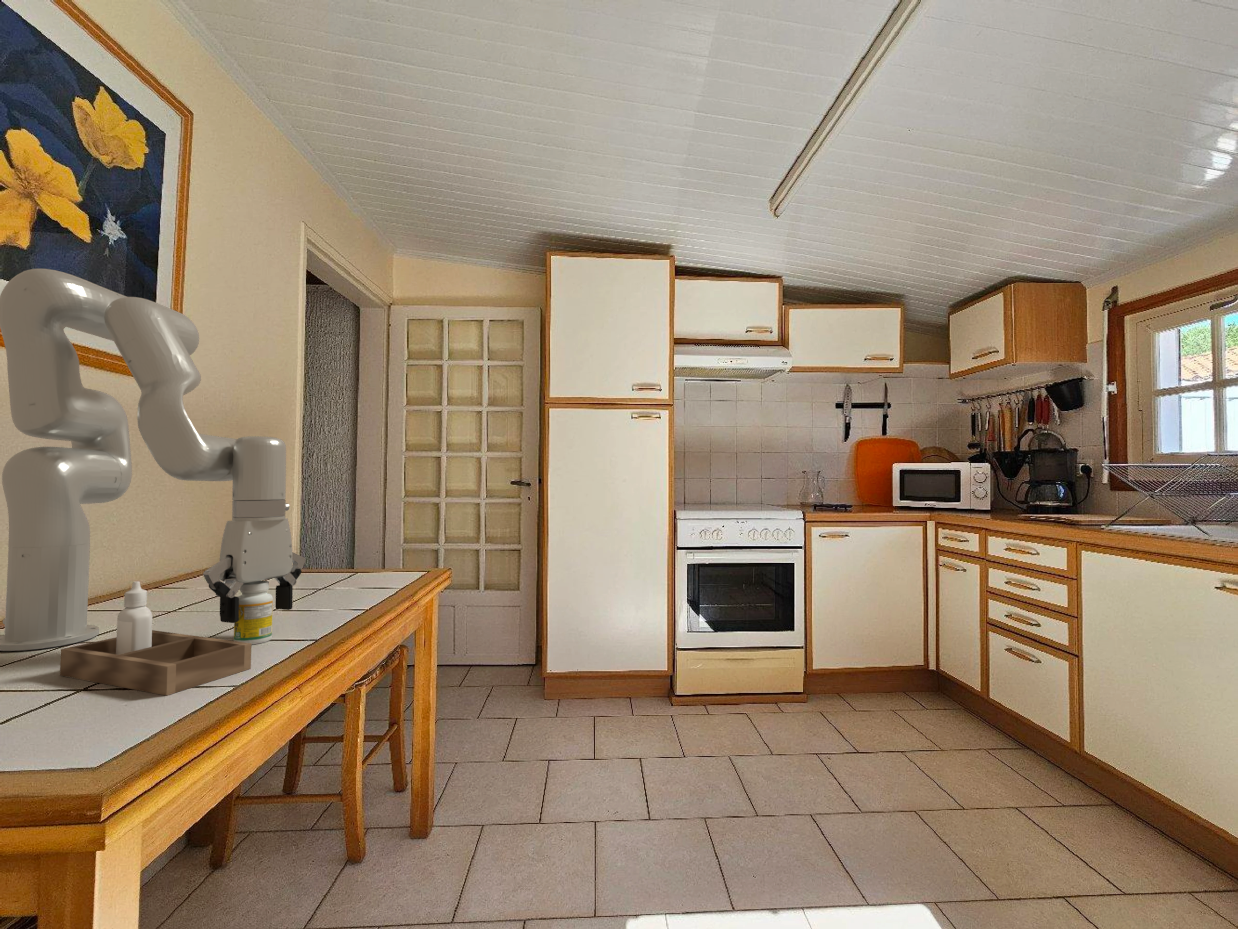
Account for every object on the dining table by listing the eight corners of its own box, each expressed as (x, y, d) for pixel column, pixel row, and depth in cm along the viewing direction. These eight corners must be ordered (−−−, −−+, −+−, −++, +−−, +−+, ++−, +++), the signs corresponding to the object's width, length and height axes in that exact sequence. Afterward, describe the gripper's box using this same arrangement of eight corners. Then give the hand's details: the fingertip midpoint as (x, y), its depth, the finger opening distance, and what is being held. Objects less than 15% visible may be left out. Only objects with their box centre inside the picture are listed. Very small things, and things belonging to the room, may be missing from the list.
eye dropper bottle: (106, 676, 77) (110, 586, 78) (118, 664, 82) (121, 580, 82) (148, 671, 79) (151, 583, 80) (157, 660, 84) (160, 577, 85)
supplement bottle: (271, 643, 94) (272, 583, 94) (231, 647, 91) (233, 586, 91) (272, 635, 98) (274, 579, 99) (235, 639, 96) (237, 581, 96)
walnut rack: (59, 675, 77) (60, 649, 77) (149, 653, 88) (150, 629, 88) (166, 695, 70) (167, 666, 70) (250, 668, 81) (251, 643, 81)
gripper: (287, 508, 105) (286, 603, 104) (189, 513, 89) (187, 626, 88) (319, 509, 102) (318, 606, 102) (224, 514, 86) (222, 629, 85)
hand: (257, 615), depth 95 cm, fingers open, 9 cm apart
